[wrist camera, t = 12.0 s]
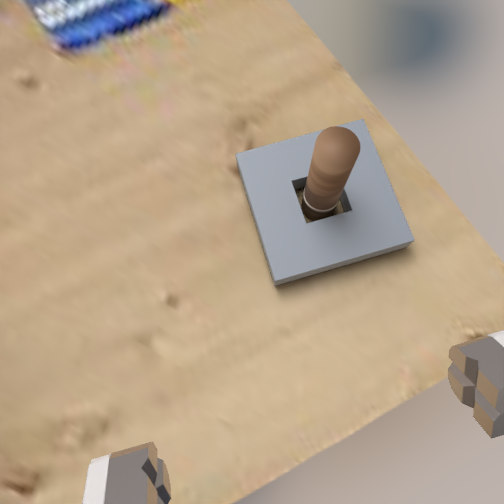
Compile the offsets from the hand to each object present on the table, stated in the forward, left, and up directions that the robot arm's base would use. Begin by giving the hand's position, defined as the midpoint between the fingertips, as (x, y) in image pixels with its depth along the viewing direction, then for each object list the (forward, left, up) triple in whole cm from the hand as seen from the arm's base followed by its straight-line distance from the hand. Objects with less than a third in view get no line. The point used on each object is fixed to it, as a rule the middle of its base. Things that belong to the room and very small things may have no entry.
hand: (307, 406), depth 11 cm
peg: (+9, +15, -29) cm, 34 cm away
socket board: (+9, +16, -29) cm, 34 cm away
